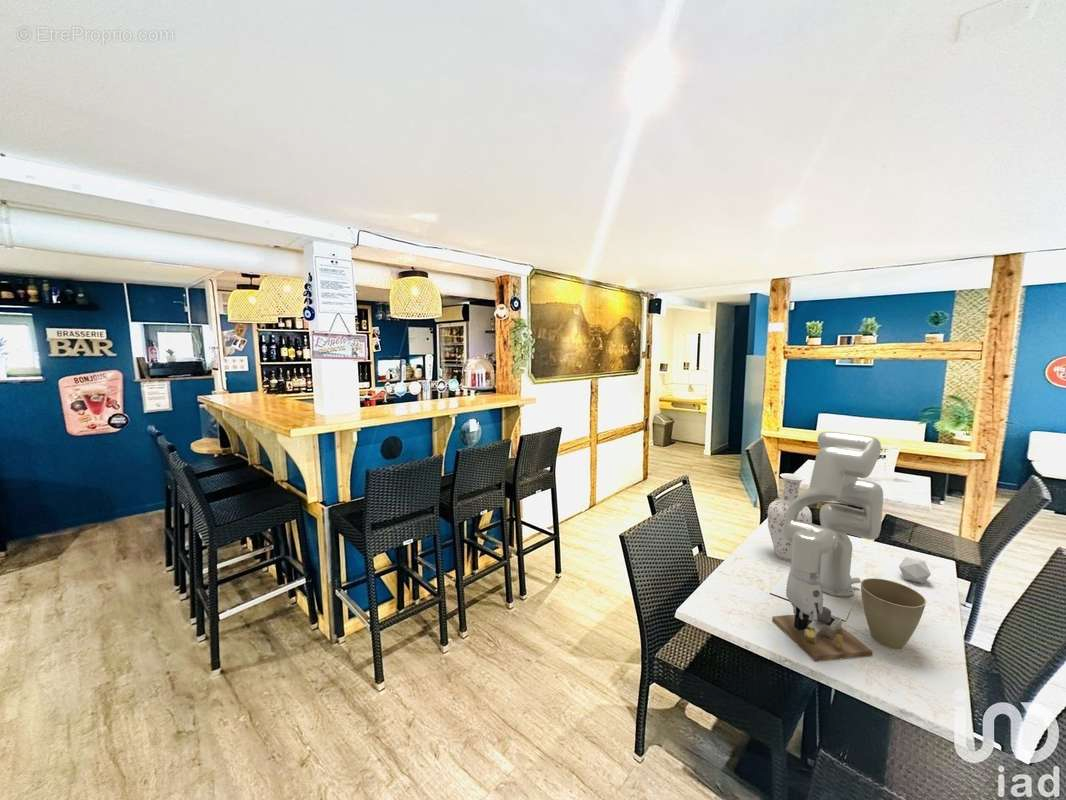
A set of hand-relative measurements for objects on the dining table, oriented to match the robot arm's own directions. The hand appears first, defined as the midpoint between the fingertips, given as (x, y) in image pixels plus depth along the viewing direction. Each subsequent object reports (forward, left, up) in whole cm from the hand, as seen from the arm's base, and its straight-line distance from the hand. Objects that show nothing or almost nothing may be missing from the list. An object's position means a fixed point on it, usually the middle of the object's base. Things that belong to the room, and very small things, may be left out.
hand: (800, 628), depth 130 cm
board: (-5, +1, -3) cm, 6 cm away
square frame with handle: (-5, +1, -1) cm, 5 cm away
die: (-66, -24, -3) cm, 71 cm away
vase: (-31, -47, -3) cm, 56 cm away
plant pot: (-24, +5, -3) cm, 25 cm away
